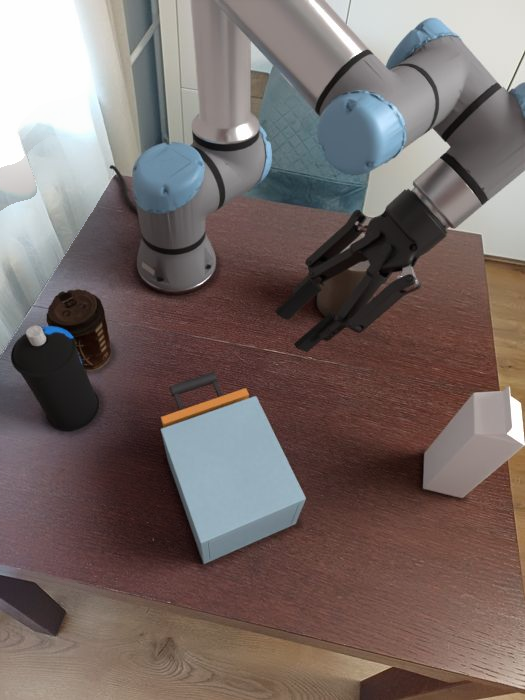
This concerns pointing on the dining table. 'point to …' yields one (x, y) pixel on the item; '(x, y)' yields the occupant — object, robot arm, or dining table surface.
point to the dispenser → (232, 477)
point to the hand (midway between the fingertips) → (291, 331)
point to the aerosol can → (56, 376)
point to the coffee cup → (82, 325)
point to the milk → (474, 443)
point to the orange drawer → (202, 407)
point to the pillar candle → (341, 286)
